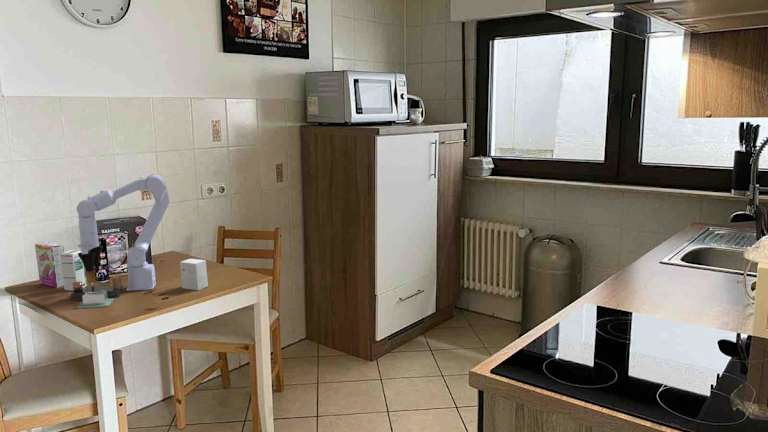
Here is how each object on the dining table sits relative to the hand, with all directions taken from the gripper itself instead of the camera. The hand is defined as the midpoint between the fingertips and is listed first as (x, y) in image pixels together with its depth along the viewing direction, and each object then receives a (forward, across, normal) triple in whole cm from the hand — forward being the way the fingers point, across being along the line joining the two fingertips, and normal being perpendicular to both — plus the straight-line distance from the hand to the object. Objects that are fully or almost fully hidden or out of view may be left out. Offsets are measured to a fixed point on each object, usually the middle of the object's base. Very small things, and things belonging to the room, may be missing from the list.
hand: (92, 268), depth 216 cm
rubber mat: (+9, +14, +4) cm, 17 cm away
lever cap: (+9, +14, +4) cm, 17 cm away
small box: (+10, +2, +36) cm, 37 cm away
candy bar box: (+10, -15, -19) cm, 26 cm away
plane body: (+9, +4, +2) cm, 10 cm away
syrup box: (+10, -8, -9) cm, 15 cm away
